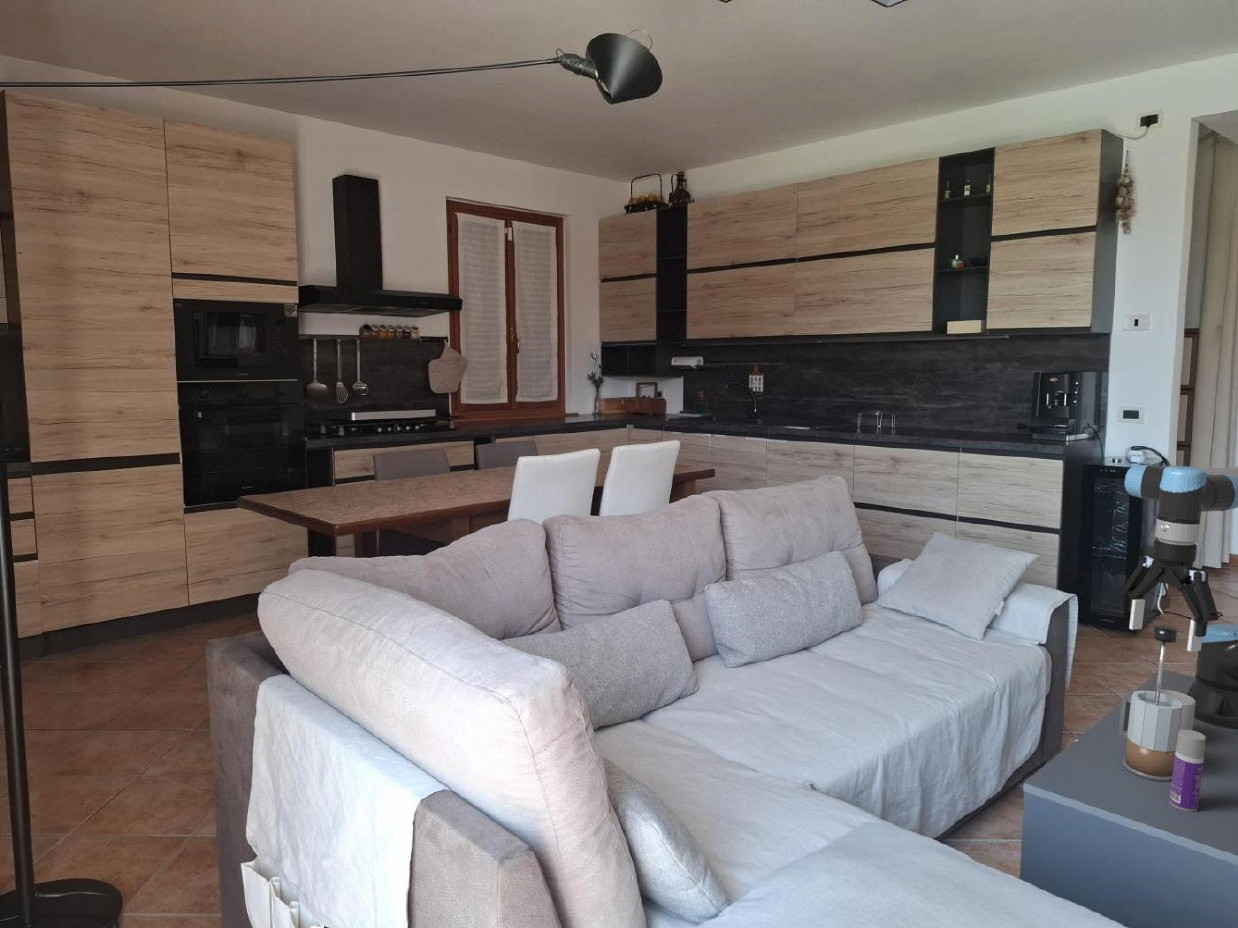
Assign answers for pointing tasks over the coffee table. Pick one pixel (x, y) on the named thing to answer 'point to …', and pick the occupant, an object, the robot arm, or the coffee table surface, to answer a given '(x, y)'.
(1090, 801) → the coffee table surface
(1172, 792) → the container
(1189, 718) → the mug
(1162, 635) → the plunger
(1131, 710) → the carafe
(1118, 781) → the coffee table surface
